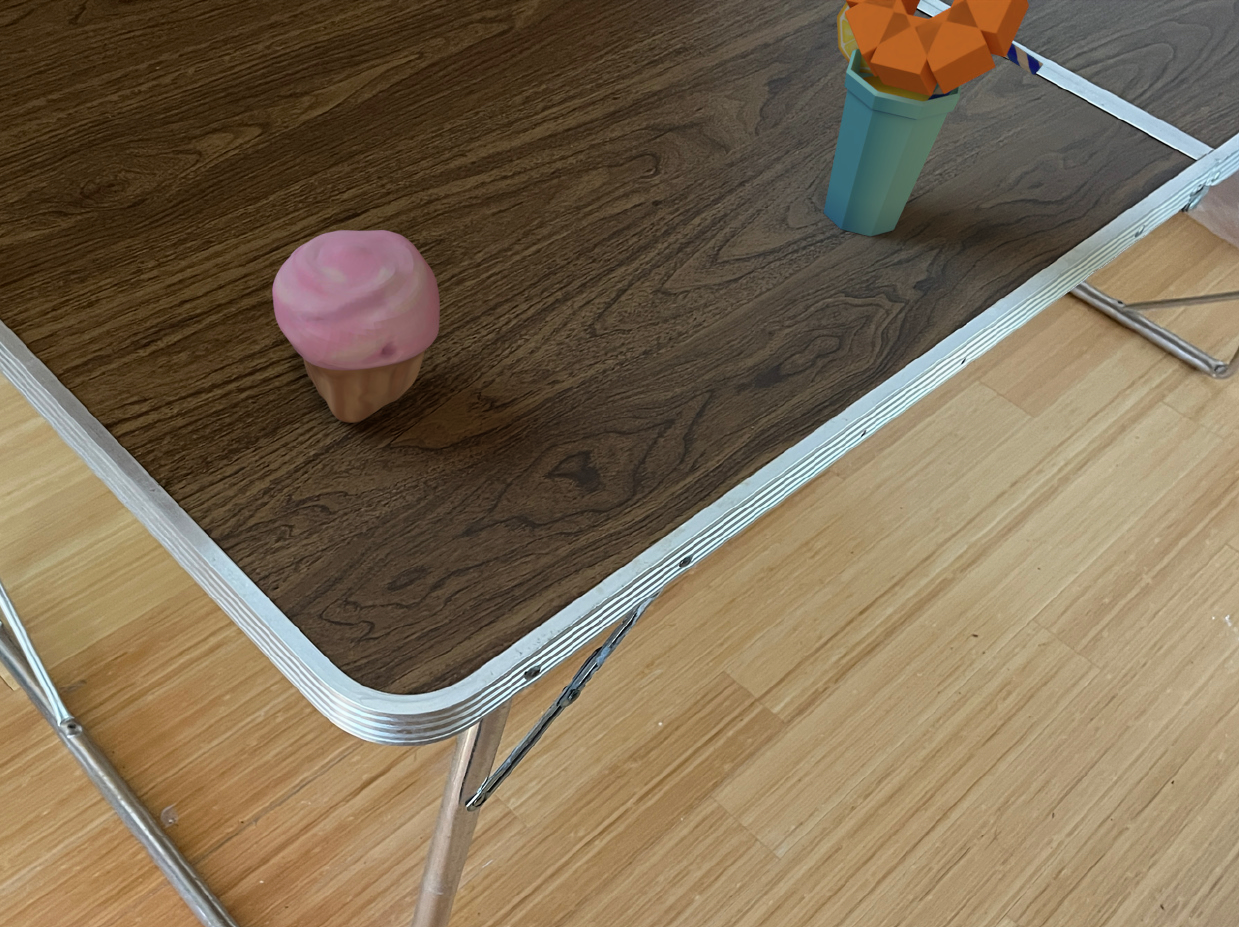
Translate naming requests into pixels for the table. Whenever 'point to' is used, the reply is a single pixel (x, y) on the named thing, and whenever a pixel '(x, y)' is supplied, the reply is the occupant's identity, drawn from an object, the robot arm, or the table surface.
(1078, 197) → the table surface
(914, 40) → the ring
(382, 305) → the cupcake
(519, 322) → the table surface
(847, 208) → the cup
